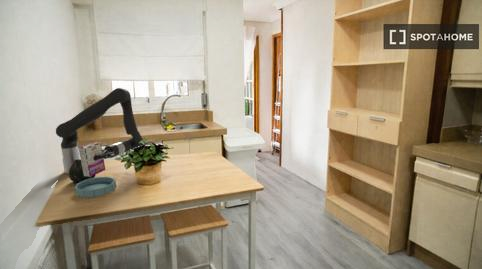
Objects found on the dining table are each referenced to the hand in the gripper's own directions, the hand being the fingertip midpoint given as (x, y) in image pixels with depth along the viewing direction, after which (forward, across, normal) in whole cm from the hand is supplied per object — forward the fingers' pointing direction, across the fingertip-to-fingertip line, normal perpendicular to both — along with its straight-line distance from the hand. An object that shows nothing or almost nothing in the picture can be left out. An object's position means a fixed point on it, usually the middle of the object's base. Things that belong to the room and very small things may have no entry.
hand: (90, 158), depth 160 cm
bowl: (-1, 0, +19) cm, 19 cm away
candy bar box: (-1, 0, +9) cm, 9 cm away
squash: (-8, -19, +19) cm, 28 cm away
